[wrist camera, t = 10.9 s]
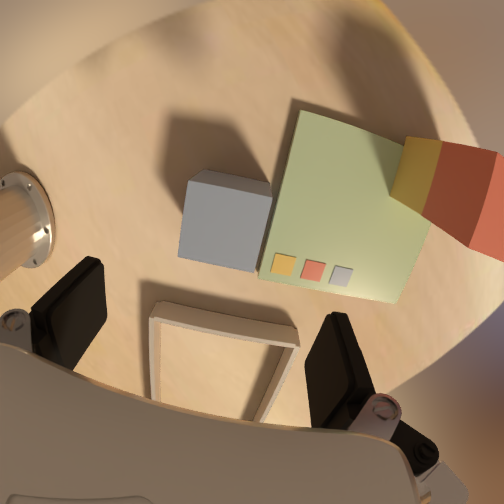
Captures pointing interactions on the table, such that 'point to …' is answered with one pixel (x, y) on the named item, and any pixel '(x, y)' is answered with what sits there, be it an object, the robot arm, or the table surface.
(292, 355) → the beige open rectangular frame
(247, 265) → the slate block
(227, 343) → the table surface
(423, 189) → the ochre block
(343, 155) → the building board
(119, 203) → the table surface
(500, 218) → the red block
